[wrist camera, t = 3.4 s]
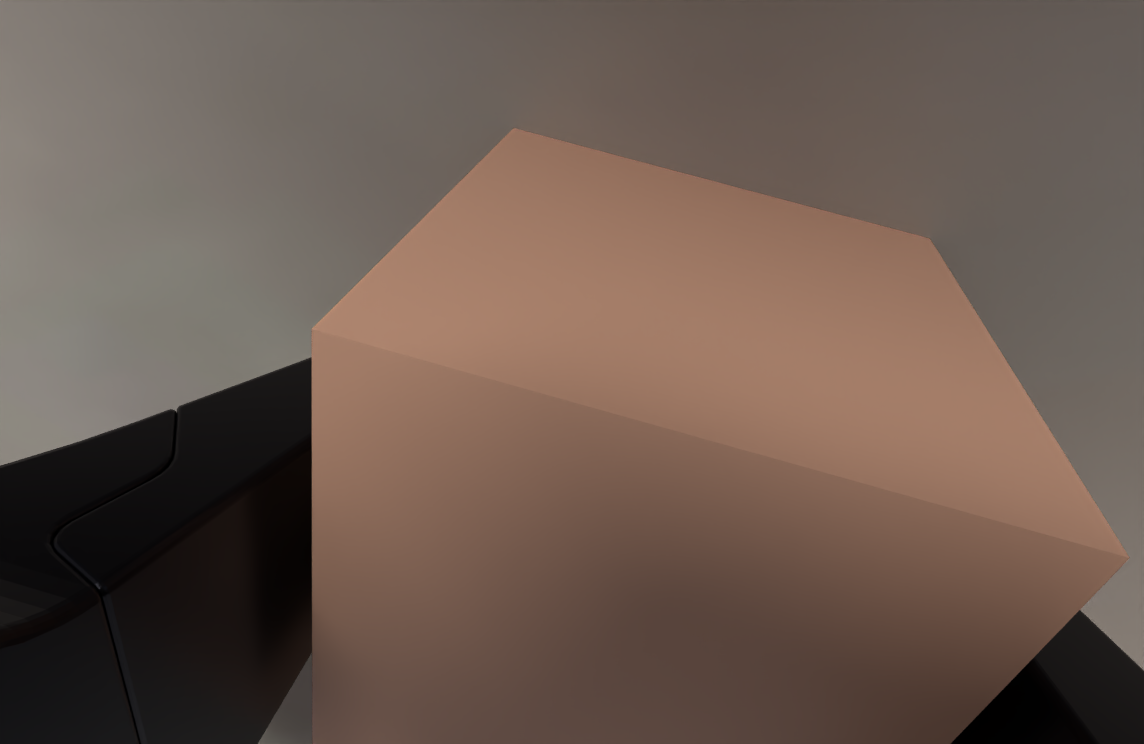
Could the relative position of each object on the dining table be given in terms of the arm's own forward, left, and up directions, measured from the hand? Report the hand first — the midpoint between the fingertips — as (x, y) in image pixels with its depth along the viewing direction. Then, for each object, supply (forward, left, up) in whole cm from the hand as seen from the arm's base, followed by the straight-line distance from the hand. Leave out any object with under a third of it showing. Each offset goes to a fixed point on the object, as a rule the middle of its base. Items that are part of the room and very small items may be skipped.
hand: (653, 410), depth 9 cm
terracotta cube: (0, 0, -1) cm, 1 cm away
